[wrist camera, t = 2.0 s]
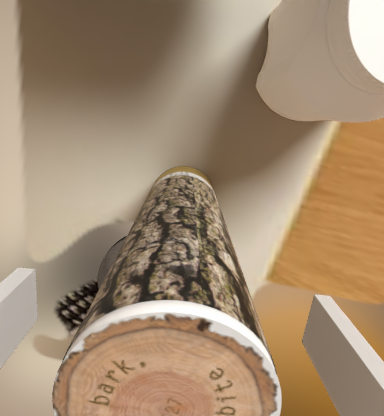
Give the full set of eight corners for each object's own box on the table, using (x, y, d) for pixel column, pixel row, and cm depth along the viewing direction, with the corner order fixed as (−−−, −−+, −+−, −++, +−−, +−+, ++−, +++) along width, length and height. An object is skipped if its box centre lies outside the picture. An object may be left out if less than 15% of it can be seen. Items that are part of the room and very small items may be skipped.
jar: (276, -18, 27) (377, -175, 12) (375, 1, 27) (583, -129, 13) (249, 113, 30) (305, 108, 16) (338, 127, 31) (471, 135, 16)
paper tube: (146, 214, 33) (34, 462, 9) (162, 157, 31) (75, 282, 7) (202, 230, 34) (236, 502, 10) (221, 175, 32) (320, 346, 8)
